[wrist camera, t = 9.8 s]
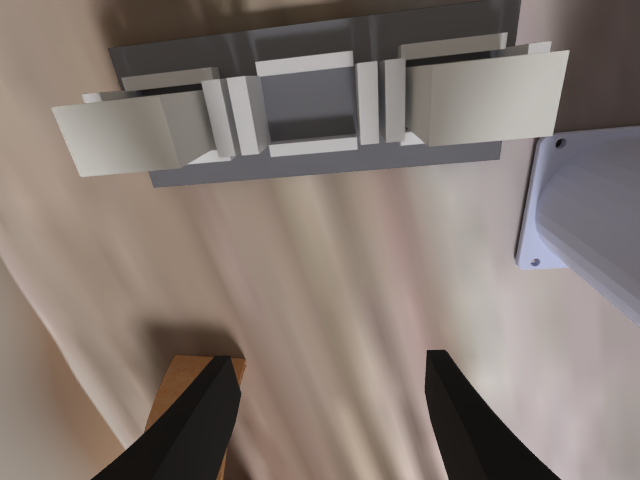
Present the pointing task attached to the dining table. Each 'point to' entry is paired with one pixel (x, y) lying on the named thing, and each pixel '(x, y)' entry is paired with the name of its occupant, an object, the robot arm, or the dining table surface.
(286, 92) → the fuse block
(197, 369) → the arch
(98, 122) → the block
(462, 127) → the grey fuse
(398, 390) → the dining table surface
